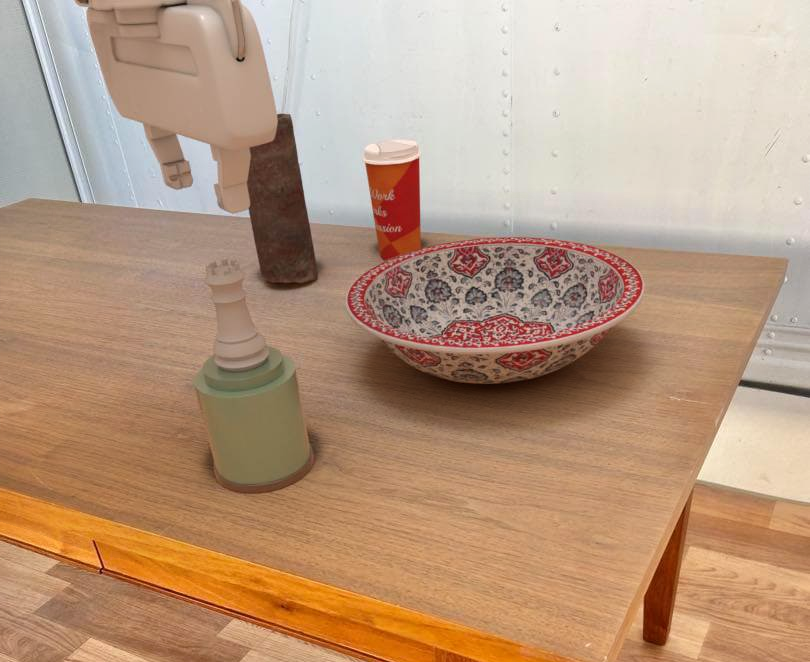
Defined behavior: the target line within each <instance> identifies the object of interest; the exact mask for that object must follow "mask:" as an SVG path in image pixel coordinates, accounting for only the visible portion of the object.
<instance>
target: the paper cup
mask: <svg viewBox="0 0 810 662" xmlns="http://www.w3.org/2000/svg"><path fill="white" fill-rule="evenodd" d="M363 154H364V155H363V156H362V159H361V160H362V162H363V163H364V164H365V172H366V177H367V183H368V189H369V196H370V203H371V208H372V215H373V222H374V228H375V233H376V240H377V245H378V251H379V255H380V258H381V260H383V261H387V260H389V259H391V258H394V257H396V256H399V255H402V254H405V253H408V252H411V251H415V250H418V249H422V248H421V244H422V240H421V239H422V237H421V178H420V172H421V171H420V157H422V154H423V153H422V152H421V150H420V149H419V144H418V143H417V142H416V141H414V140H411V139H389V140H388V141H387V140H383V141H378V142H377V143H375V142H374V143H370V144H368V145H366V146H365V147H364V153H363Z"/></svg>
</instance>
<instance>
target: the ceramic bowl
mask: <svg viewBox="0 0 810 662" xmlns="http://www.w3.org/2000/svg"><path fill="white" fill-rule="evenodd" d="M645 292H646V285H645V281H644V277H643V276H642V273H641V272H640V271H639V269H638V268H636V266H635V265H633V264H632V263H631V262H629V261H628V260H626V259H625V258H623V257H621V256H619V255H618V254H615V253H613V252H610V251H608V250H605V249H603V248H602V249H601V248H599V247H595V246H592V245H588V244H583V243H579V242H574V241H570V240H569V241H568V240H561V239H556V238H555V239H553V238H544V237H526V236H525V237H522V236H502V237H500V236H499V237H484V238H483V237H482V238H474V239H473V238H472V239H464V240H457V241H450V242H445V243H440V244H435V245H430V246H426V247H422V248H421V249H418V250H415V251H411V252H408V253H405V254H402V255H399V256H396V257H394V258H391V259H389V260H387V261H386V260H383V261H382V262H380V263H378V264H376V265H374V266H372V267H371V268H369V269H368V270H366V271H365V272H363V273H362V274H361V275H360V276H358V277H357V278H356V279H355V280H354V281H353V283H351V285H350V286H349V288H348V290H347V291H346V295H345V301H344V303H345V304H344V305H345V310H346V312H347V315H348V316H349V318H350V320H351V321H352V323H353V324H355V326H357V327H358V328H359V329H361V330H362V331H363V332H365V333H367V334H369V335H370V336H372V337H374V338H376V339H378V340H379V341H380V343H381V344H382V345H383V346H384V347H385V348H386V349H387V350H388V351H389V352H390V353H392V354H393V355H394V356H395V357H397V358H398V359H400V360H401V361H403V362H404V363H405V364H407V365H409V366H411V367H413V368H414V369H417V370H418V371H420V372H423V373H424V374H425V373H426V374H427V375H430V376H433V377H437V378H439V379H444V380H447V381H453V382H457V383H465V384H466V383H467V384H479V385H480V384H481V385H483V384H484V385H489V384H491V385H492V384H493V385H494V384H505V383H507V384H508V383H513V382H521V381H526V380H530V379H536V378H538V377H542V376H544V375H547V374H551V373H553V372H555V371H557V370H560V369H562V368H564V367H566V366H568V365H570V364H572V363H573V362H575V361H576V360H578V359H579V358H581V357H582V356H584V355H586V354H587V353H588V352H589V351H590V350H592V349H593V348H594V347H595V346H596V345H598V343H599V342H600V341H601V340H602V339H603V338H604V337H605V336H606V335H607V334H608V333H609V332H610V330H611V329H612V328H613V327H615V326H616V325H618V324H620V323H621V322H623V321H624V320H626V319H627V318H628V317H630V316H631V315H632V314H633V313H634V312H635V311H636V310H637V309H638V308H639V306H640V305H641V302H642V301H643V298H644V297H645Z"/></svg>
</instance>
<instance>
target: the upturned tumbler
mask: <svg viewBox="0 0 810 662" xmlns="http://www.w3.org/2000/svg"><path fill="white" fill-rule="evenodd" d="M265 347H266V348H267V349H268V350H269V354H268V357H267V359H266V361H265V362H264V363H263V364H262V365H260V366H258V367H256V368H254V369H251V370H247V371H241V372H230V371H226V370H223V369H221V368H220V367H219V366H218V365H217V364H216V363H215V361H214V360H215V357H216V354H215V353H214V354H212V355H211V356H209V357H208V358H207V359H206V360H204V362H203V364H202V366H201V369H200V370H198V371H197V373H196V374H195V376H194V380H193V385H194V389H195V394H196V397H197V401H198V404H199V408H200V414H201V417H202V420H203V424H204V428H205V432H206V435H207V440H208V443H209V444H208V445H209V447H210V452H211V455H212V459H213V467H212V468H213V471H214V476H215V479H216V481H217V483H219V484H220V485H221V486H222V487H224V488H225V489H228V490H230V491H233V492H237V493H244V494H261V493H269V492H273V491H277V490H281V489H284V488H286V487H288V486H291V485H293V484H295V483H296V482H298V481H300V480H301V479H303V478H304V477H305V476H306V475H307V474H308V473H309V472H310V471H311V469H312V468H313V465H314V462H315V456H314V451H313V450H314V449H313V447H312V445H311V444H310V441H309V440H310V439H309V435H308V434H309V433H308V428H307V422H306V417H305V412H304V406H303V405H304V404H303V400H302V394H301V389H300V382H299V377H298V372H297V366H296V363H295V361H294V360H293V359H292V358H291V357H289V356H288V355H287V354H283V353H282V351H280V350H279V349H278V348H276V347H273V346H270V345H265Z"/></svg>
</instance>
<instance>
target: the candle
mask: <svg viewBox="0 0 810 662" xmlns="http://www.w3.org/2000/svg"><path fill="white" fill-rule="evenodd" d="M277 120H278V123H277V129H276V135H275V138H274V140H273V141H271V142H269V143H265V144H261V145H258V146H254V147H249V148H250V154H251V160H250V167H249V173H248V180H247V187H248V193H249V199H250V207H249V208H248V209H247V210H248V215H249V219H250V224H251V229H252V234H253V238H254V239H253V240H254V246H255V250H256V254H257V255H256V256H257V259H258V260H257V261H258V266H259V270H260V274H261V277H262V278H263V279H264V280H266V281H267V282H270V283H277V284H290V283H297V284H298V283H299V284H302V283H307V282H308V283H309V282H314V281H316V280H318V277H319V272H318V266H317V259H316V253H315V248H314V242H313V236H312V231H311V224H310V220H309V213H308V209H307V204H306V197H305V191H304V190H305V189H304V185H303V178H302V173H301V166H300V162H299V157H298V156H299V155H298V149H297V142H296V136H295V130H294V123H293V118H292V116H291V114H290V113H277Z"/></svg>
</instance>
